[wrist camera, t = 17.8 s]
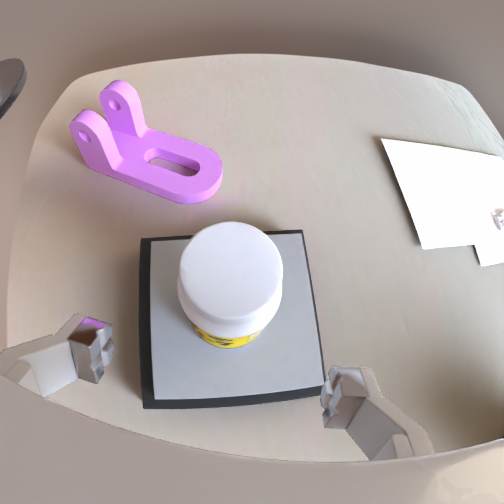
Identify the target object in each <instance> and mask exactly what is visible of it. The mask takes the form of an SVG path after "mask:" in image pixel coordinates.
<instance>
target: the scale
mask: <svg viewBox="0 0 504 504" xmlns="http://www.w3.org/2000/svg"><path fill="white" fill-rule="evenodd" d="M262 232H263V233H265V234H266V235H267V236H268V237H269V238H270V239H271V240H272V242H273V243H274V244H275V246H276V248H277V249H278V251H279V254H280V256H281V260H282V265H283V277H282V295H281V300H280V304H279V307H278V309H277V311H276V313H275V315H274V316H273V318H272V319H271V320H270V322H269V323H268V324H267V325H266V326H265V327H264V329H263V330H262V331H261V332H260V333H259V335H258V336H257V337H256V338H255V339H254V340H253V341H251V342H250V343H248V344H247V345H245V346H242V347H239V348H235V349H222V348H218V347H215V346H212V345H210V344H208V343H207V342H205V341H204V340H203V339H202V338H201V337H200V336H199V335H198V334H197V333H196V332H195V330H194V328H193V327H192V325H191V323H190V321H189V320H188V318H187V316H186V315H185V313H184V311H183V309H182V307H181V305H180V301H179V297H178V291H177V282H178V276H179V263H180V258H181V255H182V252H183V250H184V248H185V246H186V244H187V243H188V241H189V240H190V239H191V238H192V237H193V236H194V235H188V236H172V237H156V238H142V239H141V244H140V267H139V348H140V370H141V386H142V399H143V408H144V409H194V408H215V407H230V406H242V405H253V404H262V403H271V402H279V401H286V400H293V399H300V398H306V397H312V396H318V395H321V390H322V387H323V384H324V382H325V381H326V378H325V370H324V362H323V355H322V347H321V340H320V333H319V326H318V319H317V313H316V306H315V300H314V293H313V287H312V281H311V275H310V269H309V264H308V258H307V252H306V247H305V241H304V236H303V230H283V231H262Z"/></svg>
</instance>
